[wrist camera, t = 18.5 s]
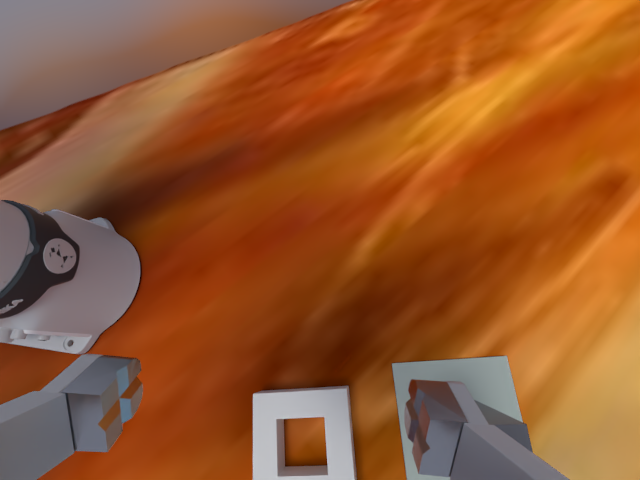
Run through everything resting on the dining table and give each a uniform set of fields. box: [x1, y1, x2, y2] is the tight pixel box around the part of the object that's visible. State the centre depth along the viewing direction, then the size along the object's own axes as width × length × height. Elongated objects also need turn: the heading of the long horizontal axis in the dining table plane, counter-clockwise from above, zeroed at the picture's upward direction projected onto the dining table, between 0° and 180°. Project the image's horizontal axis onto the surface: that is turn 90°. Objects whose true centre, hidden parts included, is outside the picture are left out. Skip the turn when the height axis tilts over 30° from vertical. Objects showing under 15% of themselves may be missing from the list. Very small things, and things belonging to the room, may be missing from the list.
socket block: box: [253, 386, 357, 480], centre depth 34 cm, size 10×10×3 cm
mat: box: [392, 356, 523, 480], centre depth 34 cm, size 12×12×1 cm
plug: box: [474, 400, 533, 453], centre depth 26 cm, size 4×4×15 cm
